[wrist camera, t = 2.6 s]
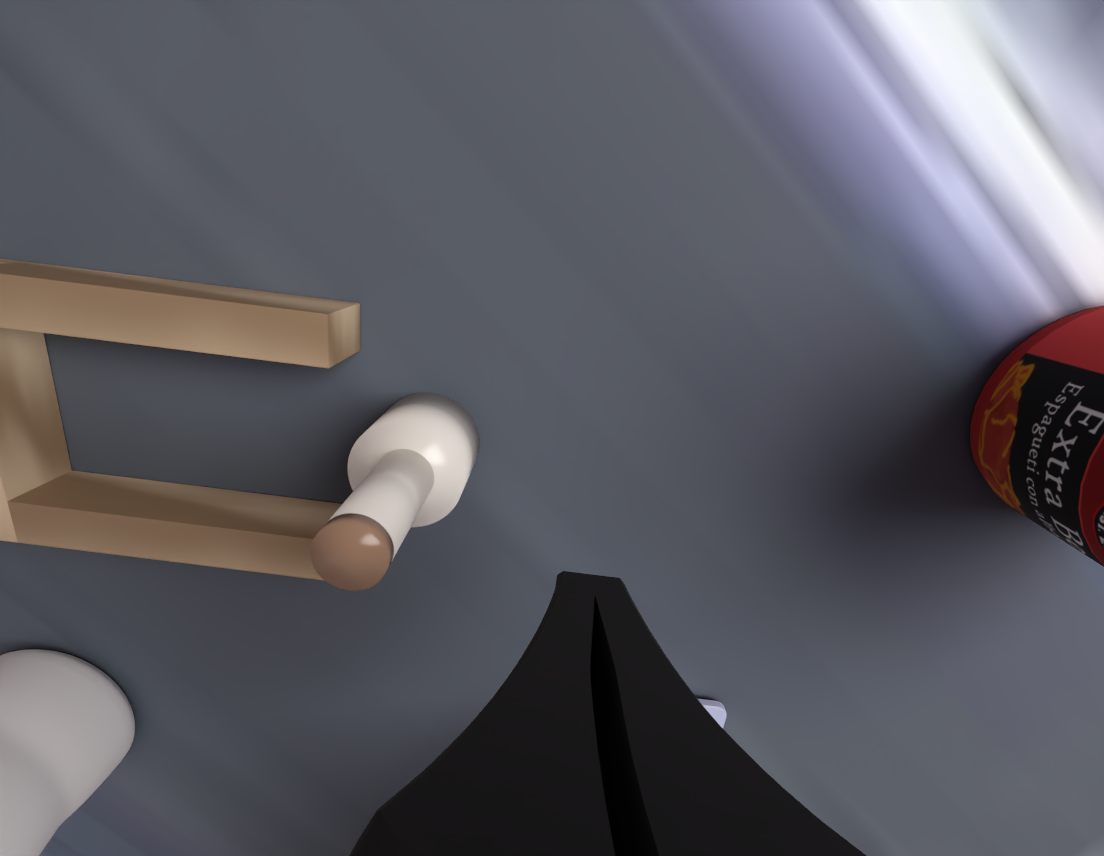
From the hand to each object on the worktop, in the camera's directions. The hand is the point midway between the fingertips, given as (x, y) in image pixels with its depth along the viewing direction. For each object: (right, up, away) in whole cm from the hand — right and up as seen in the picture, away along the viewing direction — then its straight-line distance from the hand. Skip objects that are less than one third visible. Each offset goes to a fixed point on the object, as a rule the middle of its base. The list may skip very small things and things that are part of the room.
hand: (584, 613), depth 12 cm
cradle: (-13, +4, +8) cm, 16 cm away
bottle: (-5, +4, +8) cm, 10 cm away
